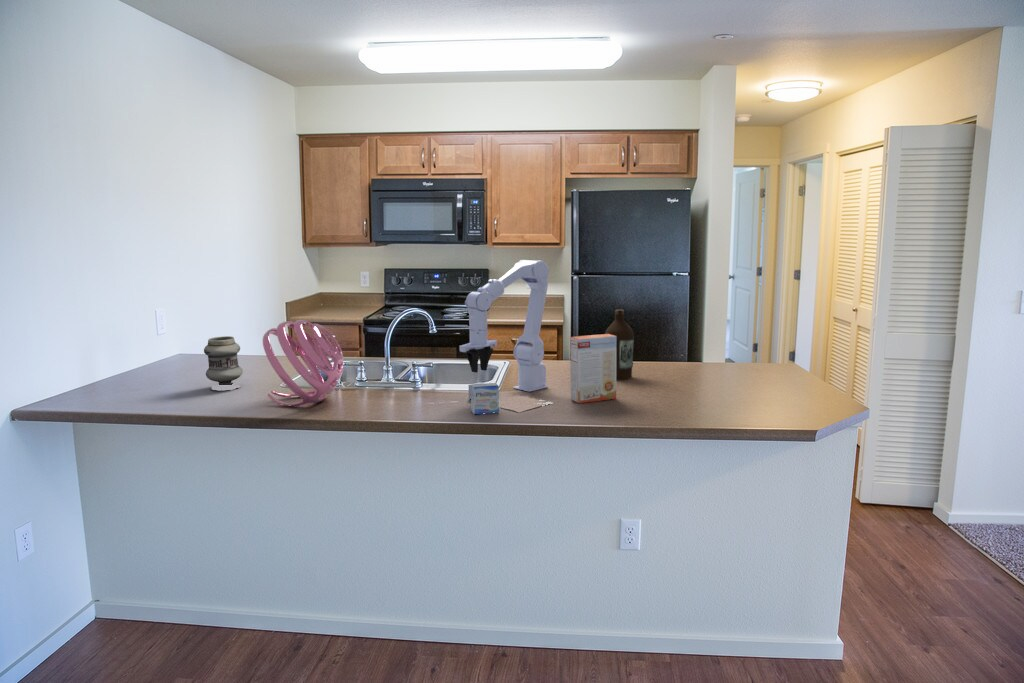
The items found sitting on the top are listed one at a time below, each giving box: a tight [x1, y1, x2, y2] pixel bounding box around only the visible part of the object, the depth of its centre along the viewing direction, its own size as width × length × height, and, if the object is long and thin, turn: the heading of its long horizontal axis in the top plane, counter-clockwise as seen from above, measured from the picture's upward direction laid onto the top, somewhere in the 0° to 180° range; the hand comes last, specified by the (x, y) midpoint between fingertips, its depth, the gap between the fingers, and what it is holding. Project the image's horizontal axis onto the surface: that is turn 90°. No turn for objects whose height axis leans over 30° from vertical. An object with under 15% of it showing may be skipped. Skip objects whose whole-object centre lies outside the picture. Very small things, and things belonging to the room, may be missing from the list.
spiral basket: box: [262, 319, 344, 407], centre depth 229 cm, size 28×28×27 cm
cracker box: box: [569, 333, 617, 404], centre depth 229 cm, size 14×6×21 cm, turn 111°
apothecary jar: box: [203, 335, 244, 385], centre depth 250 cm, size 12×12×18 cm
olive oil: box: [604, 309, 635, 381], centre depth 260 cm, size 11×11×25 cm
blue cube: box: [468, 382, 486, 400], centre depth 232 cm, size 5×5×5 cm
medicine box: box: [469, 382, 500, 415], centre depth 216 cm, size 8×4×9 cm, turn 106°
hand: (479, 371), depth 230 cm, fingers open, 3 cm apart
